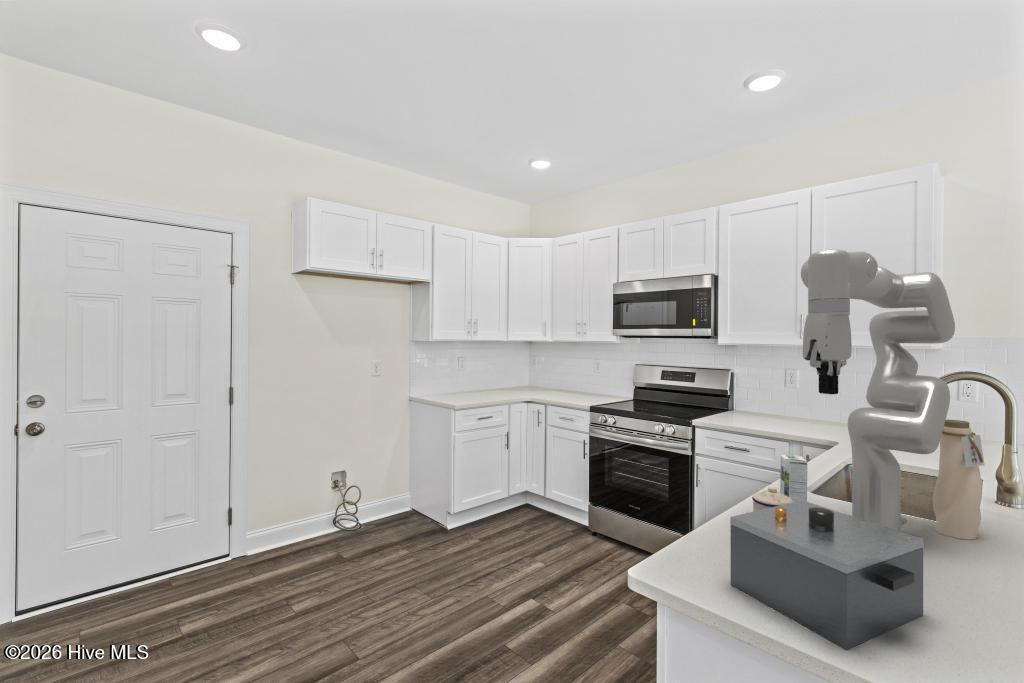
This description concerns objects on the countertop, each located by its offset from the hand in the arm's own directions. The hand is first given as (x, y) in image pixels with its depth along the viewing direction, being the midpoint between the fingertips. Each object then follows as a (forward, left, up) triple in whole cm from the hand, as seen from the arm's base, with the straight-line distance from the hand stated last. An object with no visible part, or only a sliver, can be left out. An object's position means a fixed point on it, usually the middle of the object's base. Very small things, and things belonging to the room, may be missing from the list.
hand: (828, 393), depth 103 cm
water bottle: (-45, +4, -37) cm, 59 cm away
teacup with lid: (-5, -16, -37) cm, 41 cm away
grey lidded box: (+15, +8, -37) cm, 41 cm away
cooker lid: (+15, +8, -25) cm, 30 cm away
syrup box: (-26, -26, -37) cm, 52 cm away
